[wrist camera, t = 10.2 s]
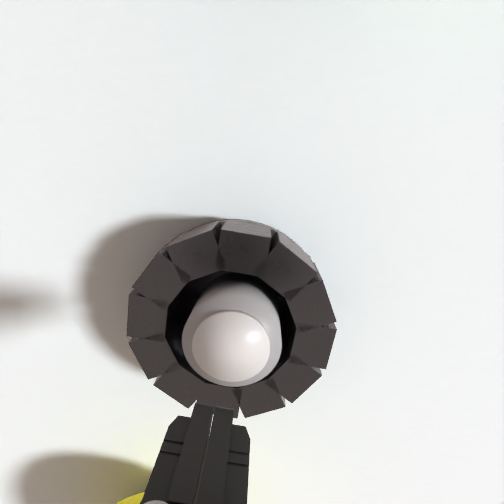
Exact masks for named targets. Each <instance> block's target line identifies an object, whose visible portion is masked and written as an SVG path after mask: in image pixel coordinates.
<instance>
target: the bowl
mask: <svg viewBox="0 0 504 504" xmlns="http://www.w3.org/2000/svg"><path fill="white" fill-rule="evenodd" d="M144 493H145V492H142V493H139V494H136V495H132V496H130V497H127V498H125V499H124V500H122V501H120V502H118V503H116V504H140V502H141V500H142V498H143V496H144Z"/></svg>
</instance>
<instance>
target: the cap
mask: <svg viewBox="0 0 504 504" xmlns="http://www.w3.org/2000/svg"><path fill="white" fill-rule="evenodd" d="M182 347H183V352H184V355H185V357H186V359H187V361H188V363H189V364H190V366H191V367H192V368H193V369H194V370H195V371H196V372H197V373H198V374H199V375H200V376H202V377H203V378H205V379H207V380H208V381H210V382H213V383H215V384H219V385H223V386H230V387H239V386H246V385H249V384H252V383H255V382H257V381H259V380H261V379H263V378H264V377H265V376H267V375H268V374H269V373H270V372H271V371H272V370H273V368H274V367H275V366H276V364H277V362H278V360H279V358H280V354H281V349H282V339H281V328H280V317H279V306H278V301H277V298H276V296H275V294H274V292H273V290H272V289H271V288H270V287H269V285H268V284H267V283H265V282H264V281H263V280H261V279H260V278H258V277H256V276H254V275H248V274H242V273H236V272H231V273H226V274H222V275H220V276H218V277H216V278H214V279H213V280H211V281H210V282H209V283H208V284H207V285H206V286H205V287H204V289H203V290H202V292H201V294H200V296H199V298H198V300H197V302H196V304H195V306H194V308H193V310H192V312H191V314H190V316H189V318H188V320H187V322H186V324H185V327H184V330H183V334H182Z"/></svg>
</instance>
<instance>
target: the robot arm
mask: <svg viewBox="0 0 504 504" xmlns="http://www.w3.org/2000/svg"><path fill="white" fill-rule="evenodd" d="M213 410H214V406H213V405H206V404H200V403H195V406H194V409H193V412H192V416H191V418H190V417H184V416H178V417H177V418H176V419H175V420H174V421H173V422H172V423H171V424H170V425H169V427H168V430H167V432H166V435H165V438H164V442H163V443H162V446H161V449H160V453H159V454H158V457H157V460H156V463H155V465H154V468H153V471H152V474H151V476H150V479H149V482H148V485H147V487H146V490H145V493H144V496H143V498H142V500H141V502H140V504H247V491H248V472H249V453H250V438H249V435H248V432H247V430H246V427H245V426H239V425H233V424H232V421H233V413H234V409H231V408H225V407H219V406H215V411H214V416H213ZM212 416H213V421H212ZM211 422H212V426H211ZM210 428H211V431H210ZM209 435H210V436H209Z"/></svg>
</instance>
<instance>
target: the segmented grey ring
mask: <svg viewBox="0 0 504 504" xmlns="http://www.w3.org/2000/svg"><path fill="white" fill-rule="evenodd" d="M231 272H236V273H242V274H248V275H254V276H256V277H258V278H260V279H261V280H263V281H264V282H265V283H267V284H268V285H269V287H270V288H271V289H272V290H273V292H274V294H275V296H276V298H277V301H278V306H279V317H280V328H281V339H282V349H281V354H280V358H279V360H278V362H277V364H276V366H275V367H274V368H273V370H272V371H271V372H270V373H269V374H268V375H267V376H265V377H264V378H263V379H261V380H259V381H257V382H255V383H252V384H249V385H246V386H239V387H230V386H223V385H219V384H215V383H213V382H210V381H208V380H207V379H205V378H203V377H202V376H200V375H199V374H198V373H197V372H196V371H195V370H194V369H193V368H192V367H191V366H190V364H189V363H188V361H187V359H186V357H185V355H184V352H183V347H182V334H183V330H184V327H185V324H186V322H187V320H188V318H189V316H190V314H191V312H192V310H193V308H194V306H195V304H196V302H197V300H198V298H199V296H200V294H201V292H202V290H203V289H204V287H205V286H206V285H207V284H208V283H209V282H210V281H211V280H213V279H214V278H216V277H218V276H220V275H222V274H226V273H231ZM132 288H134V290H133V291H132V292H131V293H130V294H129V305H128V323H127V336H131V337H133V338H132V339H131V341H130V342H129V345H130V347H131V349H132V351H133V352H134V354H135V356H136V358H137V360H138V362H139V363H140V365H141V367H142V369H143V371H144V373H145V374H146V376H147V378H148V379H151V378H154V377H157V379H156V381H155V383H154V386H156V387H157V388H159V389H160V390H162V391H163V392H164V393H166V394H167V395H169V396H170V397H172V398H173V399H175V400H176V401H178V402H179V403H181V404H182V405H184V406H185V407H187V408H189V407H190V406H191V405H192V404H193V403H194V402H195V401H196V400H197V403H200V404H206V405H213V406H214V410H213V414H214V411H215V406H219V407H225V408H231V409H234V413H233V418H237V417H238V412H239V406H240V408H241V410H242V413H243V415H244V417H245V418H247V417H250V416H254V415H258V414H261V413H265V412H269V411H272V410H276V409H279V408H283V407H285V399H287V400H288V401H290V402H291V403H293V402H294V401H295V400H296V399H297V398H298V397H299V396H300V395H301V394H303V393H304V392H305V391H306V390H307V389H308V388H309V387H310V386H311V385H312V384H313V383H314V382H315V381H316V380H318V379H319V378H320V377H321V376H322V374H321V370H320V368H322V369H326V367H327V363H328V359H329V356H330V352H331V349H332V345H333V341H334V338H335V334H336V330H337V329H336V327H335V324H334V322H336V319H335V316H334V313H333V310H332V307H331V304H330V301H329V298H328V295H327V292H326V289H325V286H324V283H323V280H322V278H321V276H320V274H319V272H318V270H317V268H316V266H315V263H313V262H312V260H311V258H310V256H309V255H307V254H306V253H305V252H304V251H303V250H302V249H301V248H300V247H299V246H298V245H297V244H296V243H295V242H294V241H293V240H292V239H290V238H289V237H288V236H286V235H285V234H283V233H282V232H280V231H278V230H276V229H274V228H272V227H270V226H267V225H264V224H262V223H258V222H254V221H250V220H240V219H226V220H218V221H213V222H210V223H206V224H203V225H200V226H198V227H196V228H194V229H192V230H190V231H188V232H185V233H183V234H180V235H179V236H178V237H177V238H175V239H173V240H172V241H171V242H170V243H169V244H168V245H166V246H165V247H164V248H163V249H162V250H160V251H159V252H158V254H157V255H156V256H155V257H154V259H153V260H152V261H151V263H150V264H149V265H148V267H147V268H146V269H145V271H144V272H143V273H142V274H141V276H140V277H139V278H138V280H137V281H136V282H135V284H134V285H133V286H132Z"/></svg>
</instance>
